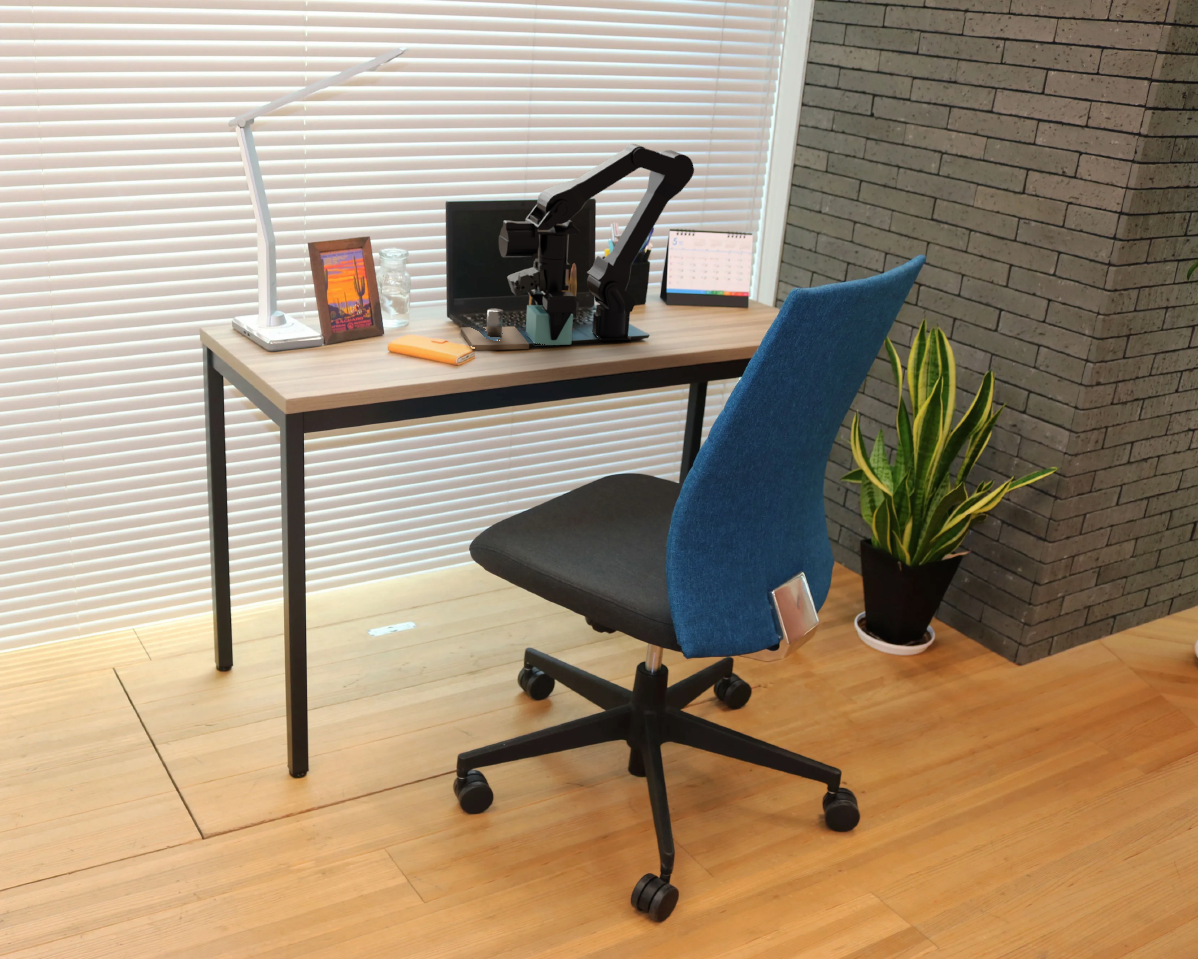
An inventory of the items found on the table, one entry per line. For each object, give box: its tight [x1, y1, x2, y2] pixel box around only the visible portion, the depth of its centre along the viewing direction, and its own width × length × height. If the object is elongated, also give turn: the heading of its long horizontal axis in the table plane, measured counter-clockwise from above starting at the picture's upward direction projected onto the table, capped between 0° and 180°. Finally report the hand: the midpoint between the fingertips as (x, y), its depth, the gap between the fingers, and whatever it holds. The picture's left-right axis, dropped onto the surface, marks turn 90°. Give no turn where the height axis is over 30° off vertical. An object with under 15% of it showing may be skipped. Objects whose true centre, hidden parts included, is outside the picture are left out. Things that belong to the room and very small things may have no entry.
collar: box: [525, 304, 574, 346], centre depth 227 cm, size 7×7×6 cm
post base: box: [460, 308, 530, 351], centre depth 224 cm, size 11×12×6 cm
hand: (548, 334), depth 228 cm, fingers closed on collar, 7 cm apart
